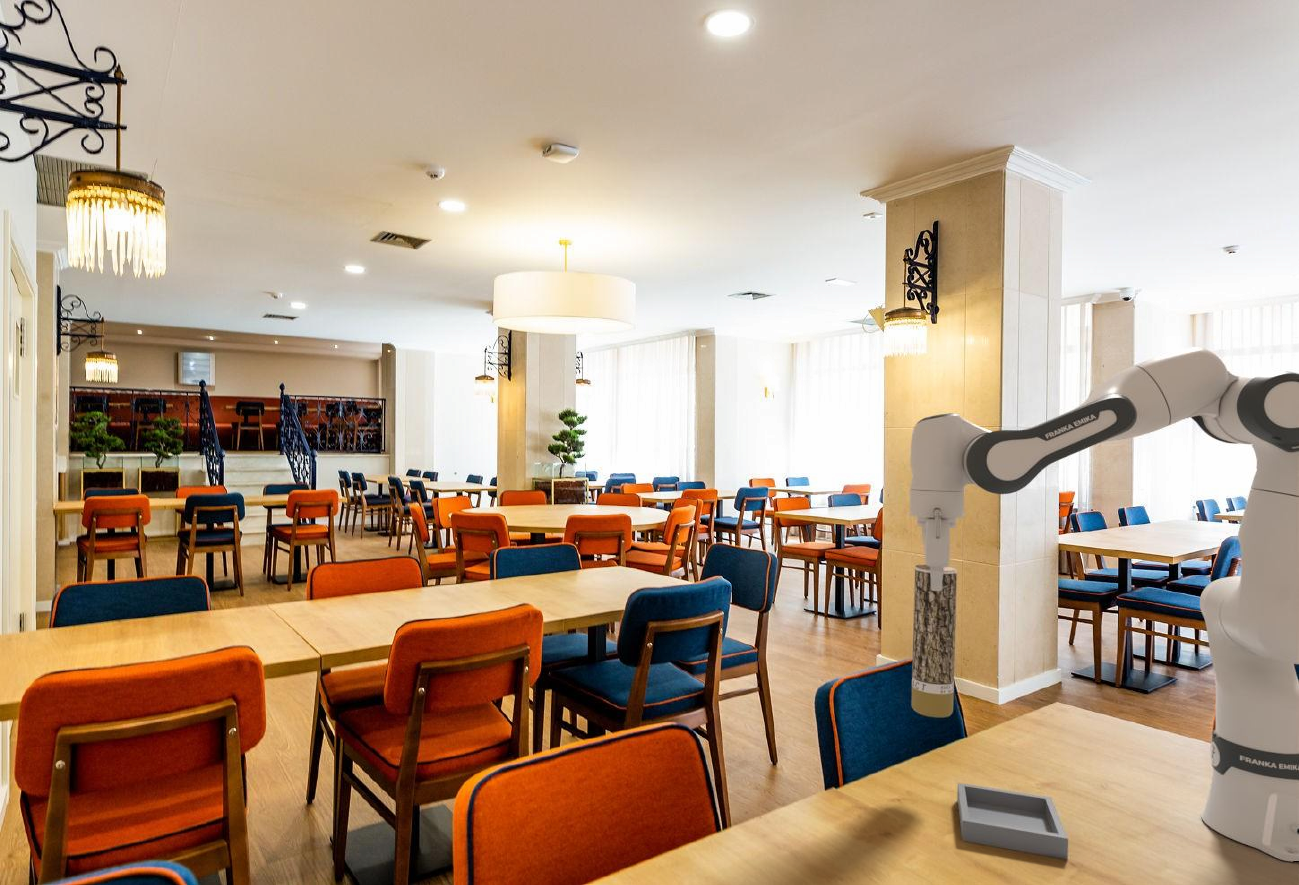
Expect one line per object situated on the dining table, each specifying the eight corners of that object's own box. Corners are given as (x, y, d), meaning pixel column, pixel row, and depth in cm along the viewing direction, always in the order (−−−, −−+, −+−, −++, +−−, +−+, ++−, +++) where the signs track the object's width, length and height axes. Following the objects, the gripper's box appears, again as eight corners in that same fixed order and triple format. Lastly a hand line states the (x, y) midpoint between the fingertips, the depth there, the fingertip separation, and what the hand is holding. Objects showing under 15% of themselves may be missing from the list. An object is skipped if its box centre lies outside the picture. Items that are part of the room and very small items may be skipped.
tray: (1050, 816, 121) (1051, 797, 121) (1067, 859, 108) (1067, 838, 108) (957, 800, 126) (957, 782, 126) (962, 840, 112) (962, 820, 113)
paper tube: (946, 706, 133) (949, 565, 134) (958, 720, 126) (962, 571, 127) (906, 704, 134) (910, 563, 134) (916, 717, 127) (920, 569, 127)
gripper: (959, 511, 120) (958, 598, 120) (953, 504, 139) (952, 579, 139) (917, 509, 122) (916, 595, 122) (917, 503, 141) (916, 576, 141)
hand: (935, 586), depth 130 cm, fingers closed on paper tube, 7 cm apart
